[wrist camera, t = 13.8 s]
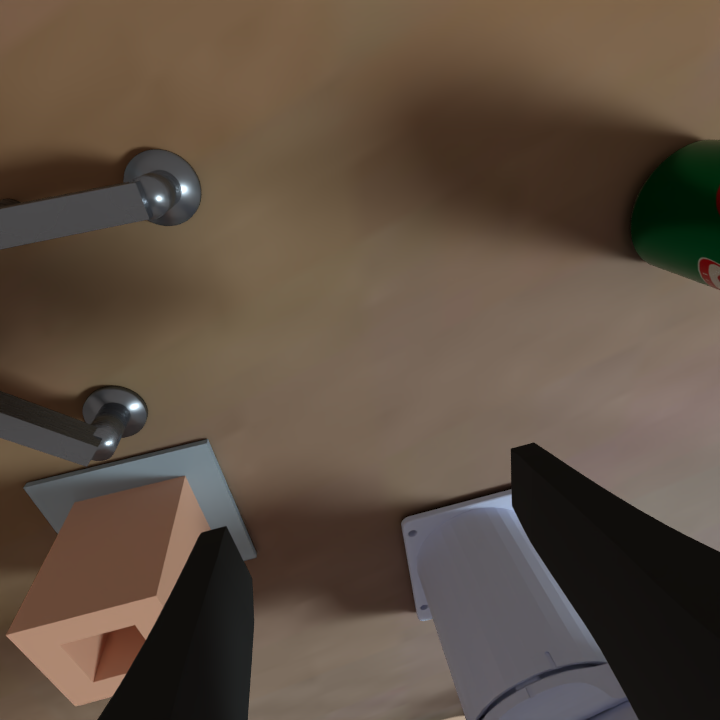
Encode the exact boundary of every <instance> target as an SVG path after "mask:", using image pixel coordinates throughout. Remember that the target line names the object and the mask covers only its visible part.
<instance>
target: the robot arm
mask: <svg viewBox="0 0 720 720" xmlns="http://www.w3.org/2000/svg"><path fill="white" fill-rule="evenodd" d="M511 487H512V489H510V490H506V491H502V492H499V493H495V494H491V495H487V496H484V497H480V498H476V499H472V500H468V501H465V502H461V503H457V504H453V505H450V506H446V507H442V508H438V509H435V510H431V511H427V512H423V513H419V514H416V515H412V516H408V517H406V518H405V519H403V521H402V522H401V527H402V532H403V538H404V544H405V550H406V555H407V561H408V567H409V573H410V578H411V584H412V590H413V596H414V601H415V607H416V613H417V616H418V619H419V620H421V621H426V620H430V619H433V621H434V624H435V627H436V630H437V633H438V636H439V639H440V642H441V645H442V648H443V651H444V654H445V657H446V660H447V663H448V666H449V669H450V672H451V675H452V678H453V681H454V684H455V687H456V691H457V694H458V697H459V700H460V703H461V706H462V709H463V712H464V715H465V718H466V720H720V552H719V551H717V550H715V549H713V548H710V547H708V546H706V545H704V544H702V543H700V542H698V541H696V540H694V539H692V538H690V537H688V536H686V535H684V534H682V533H680V532H678V531H677V530H675V529H673V528H671V527H669V526H667V525H665V524H663V523H662V522H660V521H658V520H656V519H655V518H653V517H651V516H649V515H647V514H646V513H644V512H642V511H640V510H639V509H637V508H635V507H634V506H632V505H630V504H628V503H627V502H625V501H623V500H622V499H620V498H619V497H617V496H615V495H614V494H612V493H611V492H609V491H607V490H606V489H604V488H602V487H601V486H599V485H598V484H596V483H595V482H593V481H591V480H590V479H588V478H587V477H585V476H584V475H582V474H581V473H579V472H578V471H576V470H575V469H573V468H572V467H570V466H569V465H567V464H566V463H564V462H563V461H561V460H560V459H558V458H557V457H555V456H554V455H552V454H551V453H549V452H548V451H546V450H545V449H543V448H542V447H540V446H538V445H537V444H535V443H530V444H527V445H523V446H519V447H516V448H512V449H511ZM253 632H254V607H253V586H252V577H251V575H250V573H249V571H248V569H247V567H246V565H245V563H244V561H243V559H242V557H241V555H240V553H239V551H238V548H237V546H236V544H235V542H234V540H233V538H232V536H231V534H230V532H229V530H228V528H227V526H224V527H220V528H216V529H213V530H209V531H205V532H202V533H201V534H200V535H199V537H198V539H197V541H196V543H195V545H194V547H193V549H192V551H191V553H190V555H189V557H188V559H187V561H186V564H185V566H184V568H183V570H182V572H181V574H180V576H179V578H178V580H177V582H176V584H175V586H174V588H173V590H172V592H171V594H170V596H169V598H168V599H167V601H166V603H165V605H164V607H163V609H162V611H161V613H160V615H159V617H158V618H157V620H156V622H155V624H154V626H153V628H152V630H151V632H150V633H149V635H148V637H147V639H146V640H145V642H144V644H143V646H142V647H141V649H140V651H139V653H138V654H137V656H136V658H135V659H134V661H133V663H132V665H131V666H130V668H129V670H128V672H127V673H126V675H125V677H124V678H123V680H122V682H121V683H120V685H119V687H118V688H117V690H116V691H115V693H114V695H113V696H112V698H111V699H110V701H109V703H108V704H107V706H106V707H105V709H104V710H103V712H102V714H101V715H100V717H99V718H98V720H248V707H249V692H250V678H251V664H252V648H253Z"/></svg>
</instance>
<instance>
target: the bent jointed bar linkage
mask: <svg viewBox="0 0 720 720" xmlns="http://www.w3.org/2000/svg"><path fill="white" fill-rule="evenodd" d="M123 182H124V183H120V184H115V185H110V186H105V187H100V188H95V189H90V190H84V191H79V192H74V193H69V194H64V195H59V196H54V197H49V198H44V199H38V200H33V201H28V202H23V203H20V202H18V201H16V200H12V199H3V200H0V249H5V248H10V247H14V246H19V245H24V244H29V243H34V242H39V241H44V240H49V239H54V238H59V237H64V236H69V235H74V234H79V233H84V232H89V231H93V230H98V229H103V228H108V227H113V226H118V225H123V224H128V223H133V222H138V221H143V220H148V221H150V222H152V223H155V224H158V225H164V226H173V225H178V224H181V223H183V222H185V221H187V220H188V219H190V218H191V217H192V216H193V214H194V213H195V212H196V211H197V209H198V207H199V205H200V201H201V185H200V181H199V179H198V176H197V174H196V172H195V171H194V169H193V168H192V167H191V165H190V164H189V163H188V162H187V161H186V160H184V159H183V158H182V157H180V156H179V155H177V154H175V153H173V152H170V151H167V150H161V149H154V150H148V151H144V152H142V153H139V154H138V155H136V156H135V157H134V158H133V159H132V160H131V161H130V162H129V164H128V165H127V167H126V170H125V173H124V180H123ZM83 417H84V419H85V421H86V423H85V422H83V421H80V420H77V419H74V418H72V417H69V416H66V415H64V414H61V413H58V412H56V411H53V410H50V409H48V408H45V407H42V406H39V405H37V404H34V403H31V402H29V401H26V400H23V399H21V398H18V397H15V396H12V395H10V394H7V393H4V392H2V391H0V438H3V439H6V440H9V441H12V442H15V443H18V444H21V445H24V446H27V447H30V448H33V449H36V450H39V451H42V452H45V453H48V454H51V455H54V456H57V457H60V458H63V459H66V460H69V461H72V462H75V463H78V464H81V465H84V466H88V464H89V462H90V460H95V461H103V460H107V459H109V458H110V457H111V456H112V455H113V454H114V452H115V450H116V448H117V446H118V443H119V441H120V439H121V438H124V437H129V436H132V435H134V434H136V433H137V432H139V431H140V430H141V429H142V428H143V426H144V424H145V422H146V420H147V417H148V409H147V405H146V403H145V402H144V400H143V399H142V398H141V397H140V396H139V395H138V394H137V393H135V392H134V391H132V390H130V389H127V388H124V387H119V386H107V387H103V388H100V389H97V390H96V391H94V392H93V393H91V395H90V396H89V397H88V398H87V400H86V402H85V403H84V406H83Z"/></svg>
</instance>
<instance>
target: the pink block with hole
mask: <svg viewBox="0 0 720 720" xmlns="http://www.w3.org/2000/svg"><path fill="white" fill-rule="evenodd" d="M209 530H211V529H210V527H209V525H208V522H207V520H206V518H205V516H204V514H203V512H202V510H201V508H200V506H199V504H198V501H197V499H196V497H195V495H194V493H193V491H192V489H191V487H190V485H189V483H188V480H187V478H186V476H182V477H178V478H174V479H170V480H165V481H161V482H157V483H153V484H149V485H145V486H141V487H137V488H132V489H128V490H124V491H120V492H116V493H112V494H108V495H103V496H99V497H95V498H91V499H87V500H83V501H79V502H74V504H73V506H72V508H71V510H70V512H69V514H68V516H67V518H66V520H65V522H64V524H63V526H62V527H61V529H60V531H59V533H58V535H57V537H56V539H55V541H54V543H53V545H52V547H51V549H50V551H49V553H48V554H47V556H46V558H45V560H44V562H43V564H42V566H41V568H40V570H39V572H38V574H37V576H36V578H35V580H34V582H33V583H32V585H31V587H30V589H29V591H28V593H27V595H26V597H25V599H24V601H23V603H22V605H21V607H20V609H19V610H18V612H17V614H16V616H15V618H14V620H13V622H12V624H11V626H10V628H9V630H8V632H7V634H6V636H7V637H8V638H9V639H10V640H11V641H12V642H13V643H14V644H15V645H16V646H17V647H18V648H19V649H20V650H21V651H22V652H23V653H24V654H25V655H26V656H27V657H28V658H29V659H30V661H31V662H32V663H33V664H34V665H35V666H36V667H37V668H38V669H39V670H40V671H41V672H42V673H43V674H44V675H45V676H46V677H47V678H48V679H49V680H50V681H51V682H52V683H53V684H54V685H55V686H56V687H57V688H58V689H59V690H60V691H61V692H62V693H63V694H64V695H65V696H66V697H67V698H68V699H69V700H70V701H71V702H72V703H73V704H74V705H75V706H80V705H83V704H87V703H90V702H94V701H98V700H101V699H105V698H108V697H112V696H113V695H114V693H115V691H116V690H117V688H118V687H119V685H120V683H121V682H122V680H123V678H124V677H125V675H126V673H127V672H128V670H129V668H130V666H131V665H132V663H133V661H134V659H135V658H136V656H137V654H138V653H139V651H140V649H141V647H142V646H143V644H144V642H145V640H146V639H147V637H148V635H149V633H150V632H151V630H152V628H153V626H154V624H155V622H156V620H157V618H158V617H159V615H160V613H161V611H162V609H163V607H164V605H165V603H166V601H167V599H168V598H169V596H170V594H171V592H172V590H173V588H174V586H175V584H176V582H177V580H178V578H179V576H180V574H181V572H182V570H183V568H184V566H185V564H186V561H187V559H188V557H189V555H190V553H191V551H192V549H193V547H194V545H195V543H196V541H197V539H198V537H199V535H200V534H201V533H202V532H205V531H209Z"/></svg>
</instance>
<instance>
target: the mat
mask: <svg viewBox="0 0 720 720" xmlns="http://www.w3.org/2000/svg"><path fill="white" fill-rule="evenodd" d="M182 476H186V478H187V480H188V483H189V485H190V487H191V489H192V491H193V493H194V495H195V497H196V499H197V501H198V504H199V506H200V508H201V510H202V512H203V514H204V516H205V518H206V520H207V522H208V525H209V527H210V529H211V530H213V529H216V528H220V527H224V526H227V528H228V530H229V532H230V534H231V536H232V538H233V540H234V542H235V544H236V546H237V548H238V551H239V553H240V555H241V557H242V559H243V561H245V560H249V559H253V558H256V557H257V553H256V550H255V548H254V546H253V543H252V541H251V539H250V536H249V534H248V532H247V529H246V527H245V525H244V522H243V520H242V518H241V515H240V513H239V511H238V508H237V506H236V504H235V501H234V499H233V497H232V494H231V492H230V490H229V487H228V485H227V483H226V480H225V478H224V476H223V473H222V471H221V469H220V466H219V464H218V462H217V459H216V457H215V455H214V452H213V450H212V448H211V445H210V443H209V441H208V439H206V440H202V441H198V442H194V443H190V444H185V445H181V446H177V447H173V448H169V449H165V450H161V451H157V452H152V453H148V454H144V455H140V456H136V457H132V458H128V459H124V460H119V461H115V462H111V463H107V464H103V465H99V466H95V467H91V468H86V469H82V470H78V471H74V472H70V473H66V474H62V475H58V476H53V477H49V478H45V479H41V480H37V481H33V482H29V483H26V485H25V486H24V490H25V491H26V492H27V494H28V495H29V496H30V498H31V499H32V500H33V502H34V503H35V504H36V506H37V507H38V508H39V510H40V511H41V512H42V514H43V515H44V516H45V518H46V519H47V520H48V522H49V523H50V524H51V526H52V527H53V528H54V530H55V531H56V533H57V534H58V533H59V531H60V529H61V527H62V526H63V524H64V522H65V520H66V518H67V516H68V514H69V512H70V510H71V508H72V506H73V504H74V502H79V501H83V500H87V499H91V498H95V497H99V496H103V495H108V494H112V493H116V492H120V491H124V490H128V489H132V488H137V487H141V486H145V485H149V484H153V483H157V482H161V481H165V480H170V479H174V478H178V477H182Z"/></svg>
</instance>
